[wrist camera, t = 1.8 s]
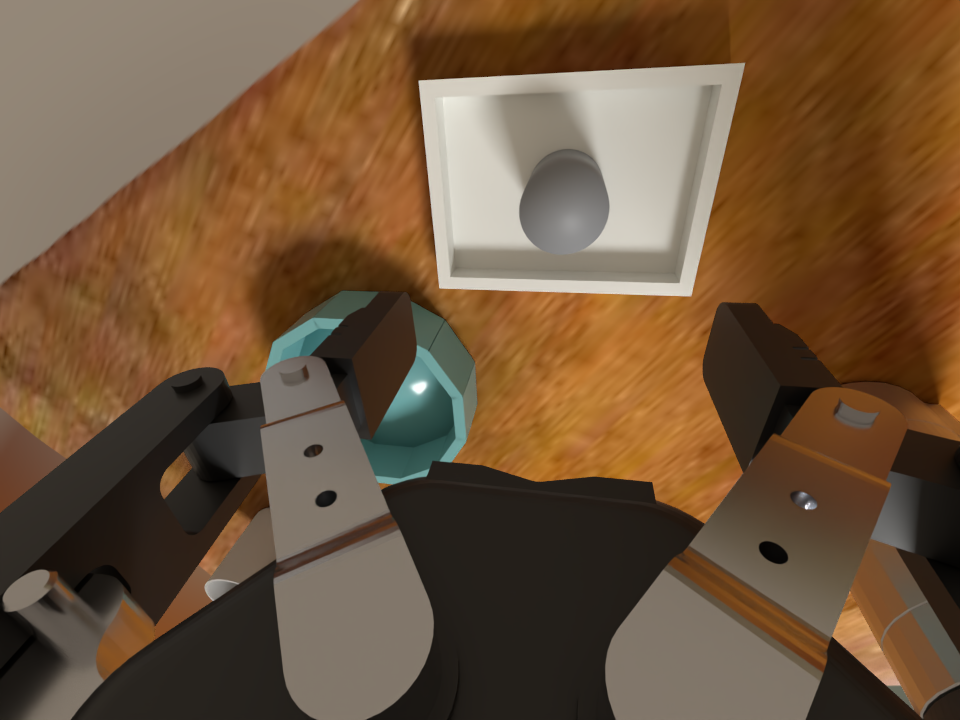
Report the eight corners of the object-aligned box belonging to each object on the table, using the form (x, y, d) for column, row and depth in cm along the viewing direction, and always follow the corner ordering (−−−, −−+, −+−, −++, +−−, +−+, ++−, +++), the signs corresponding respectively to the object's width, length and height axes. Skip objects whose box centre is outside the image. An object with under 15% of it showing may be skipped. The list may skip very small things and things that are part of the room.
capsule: (607, 147, 24) (614, 162, 20) (599, 227, 27) (604, 255, 23) (528, 149, 25) (519, 164, 21) (527, 227, 27) (518, 254, 23)
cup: (245, 512, 52) (190, 585, 45) (302, 493, 48) (252, 569, 40) (286, 549, 55) (242, 623, 47) (344, 534, 51) (304, 612, 43)
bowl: (470, 294, 31) (456, 324, 28) (480, 453, 40) (470, 493, 36) (273, 288, 34) (236, 314, 30) (321, 438, 42) (297, 473, 39)
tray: (731, 64, 22) (745, 62, 20) (683, 282, 28) (691, 296, 26) (430, 80, 25) (418, 80, 23) (447, 275, 31) (439, 288, 29)
